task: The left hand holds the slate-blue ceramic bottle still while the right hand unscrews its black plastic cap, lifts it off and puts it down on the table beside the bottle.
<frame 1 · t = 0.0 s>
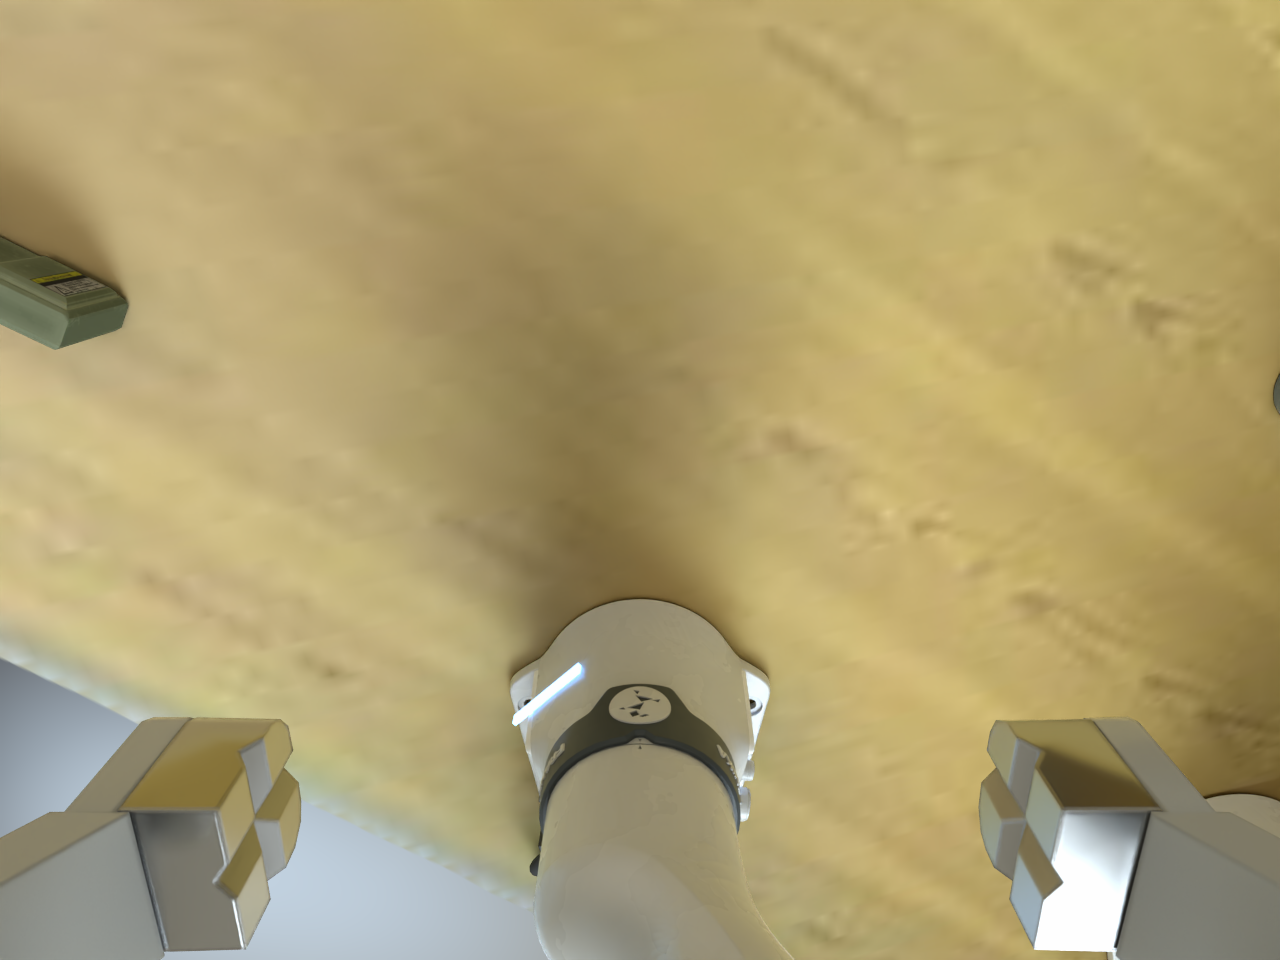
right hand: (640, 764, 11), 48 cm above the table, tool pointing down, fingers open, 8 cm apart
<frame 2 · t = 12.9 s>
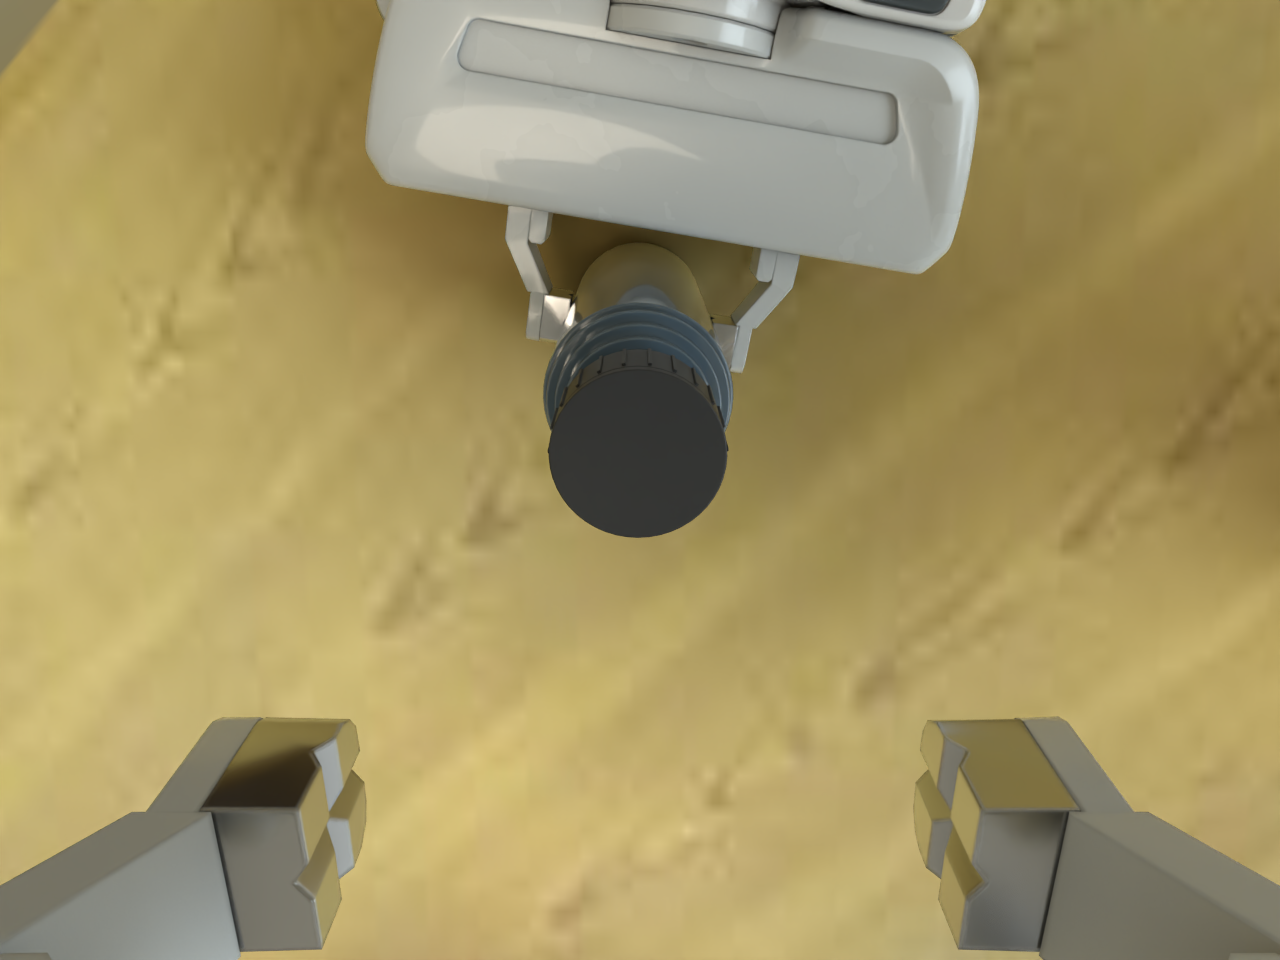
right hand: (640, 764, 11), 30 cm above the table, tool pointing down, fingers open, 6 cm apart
left hand: (635, 353, 34), fingers closed on bottle, 5 cm apart
bottle: (638, 306, 38), on the table, touching left hand
cap: (638, 452, 21), point 19 cm above the table, screwed on, not yet turned
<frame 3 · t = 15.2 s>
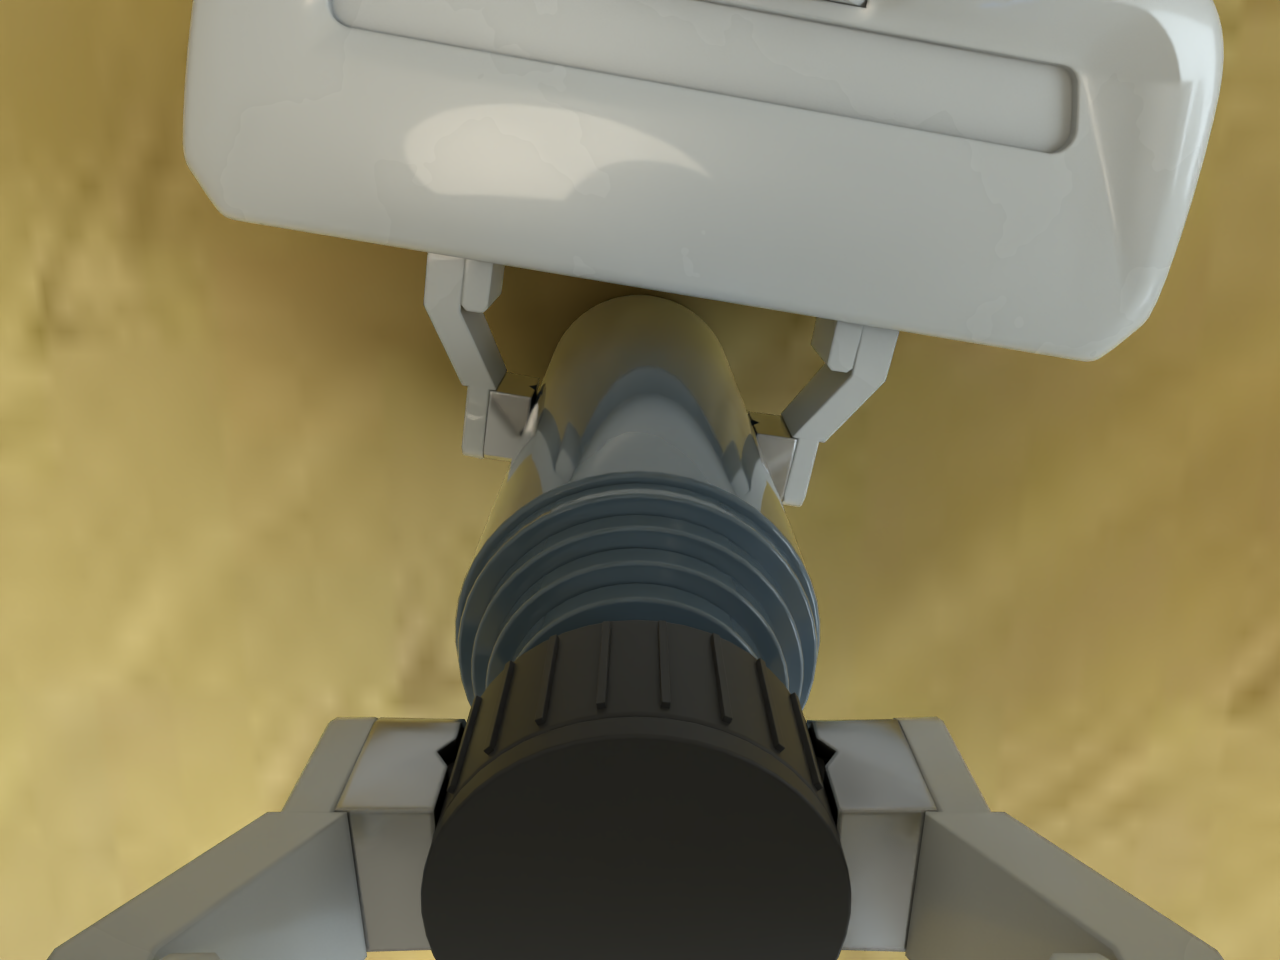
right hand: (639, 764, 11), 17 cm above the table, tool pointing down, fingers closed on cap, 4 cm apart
left hand: (634, 474, 22), fingers closed on bottle, 5 cm apart
bottle: (639, 385, 26), on the table, touching left hand
cap: (636, 890, 9), point 19 cm above the table, screwed on, not yet turned, touching right hand
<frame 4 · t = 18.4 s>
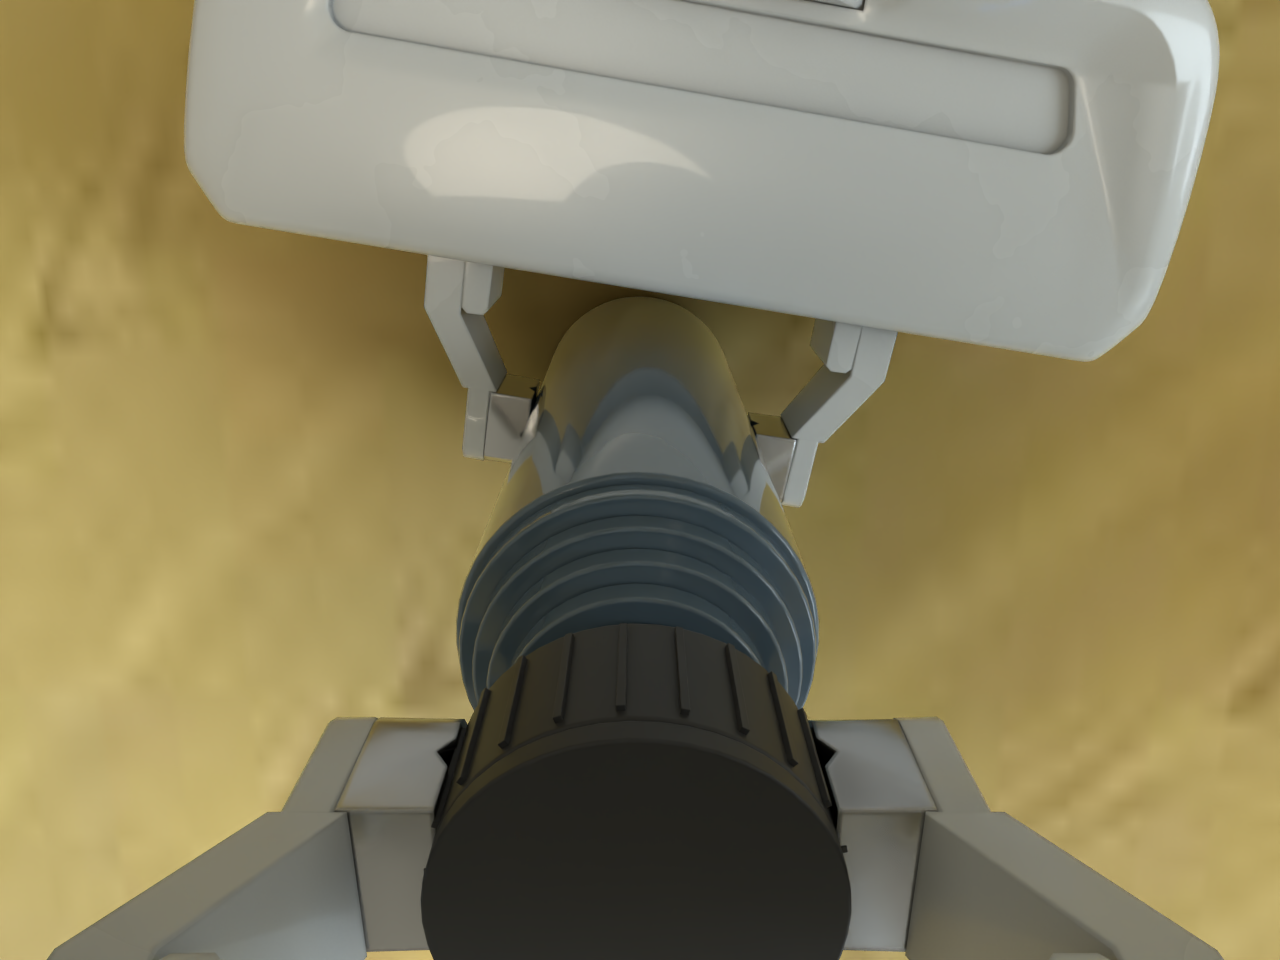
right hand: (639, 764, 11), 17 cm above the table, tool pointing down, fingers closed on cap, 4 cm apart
left hand: (634, 475, 22), fingers closed on bottle, 5 cm apart
bottle: (639, 386, 26), on the table, touching left hand
cap: (636, 894, 9), point 19 cm above the table, turned 77° so far, risen 0.1 cm, still on its thread, touching right hand
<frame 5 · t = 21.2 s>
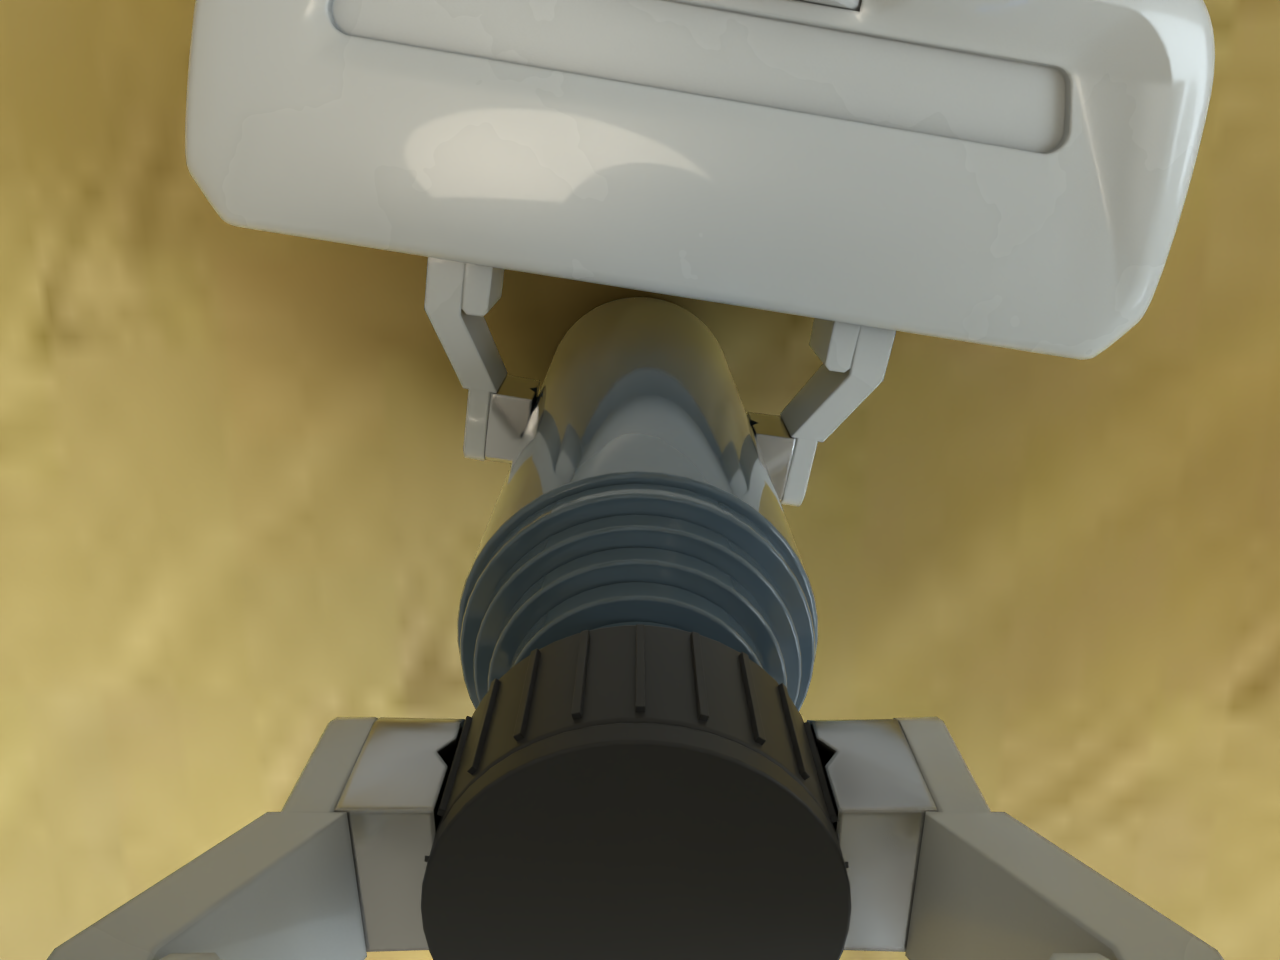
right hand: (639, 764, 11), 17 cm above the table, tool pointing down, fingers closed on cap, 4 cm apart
left hand: (635, 475, 22), fingers closed on bottle, 5 cm apart
bottle: (639, 386, 27), on the table, touching left hand
cap: (636, 895, 9), point 19 cm above the table, turned 153° so far, risen 0.2 cm, still on its thread, touching right hand
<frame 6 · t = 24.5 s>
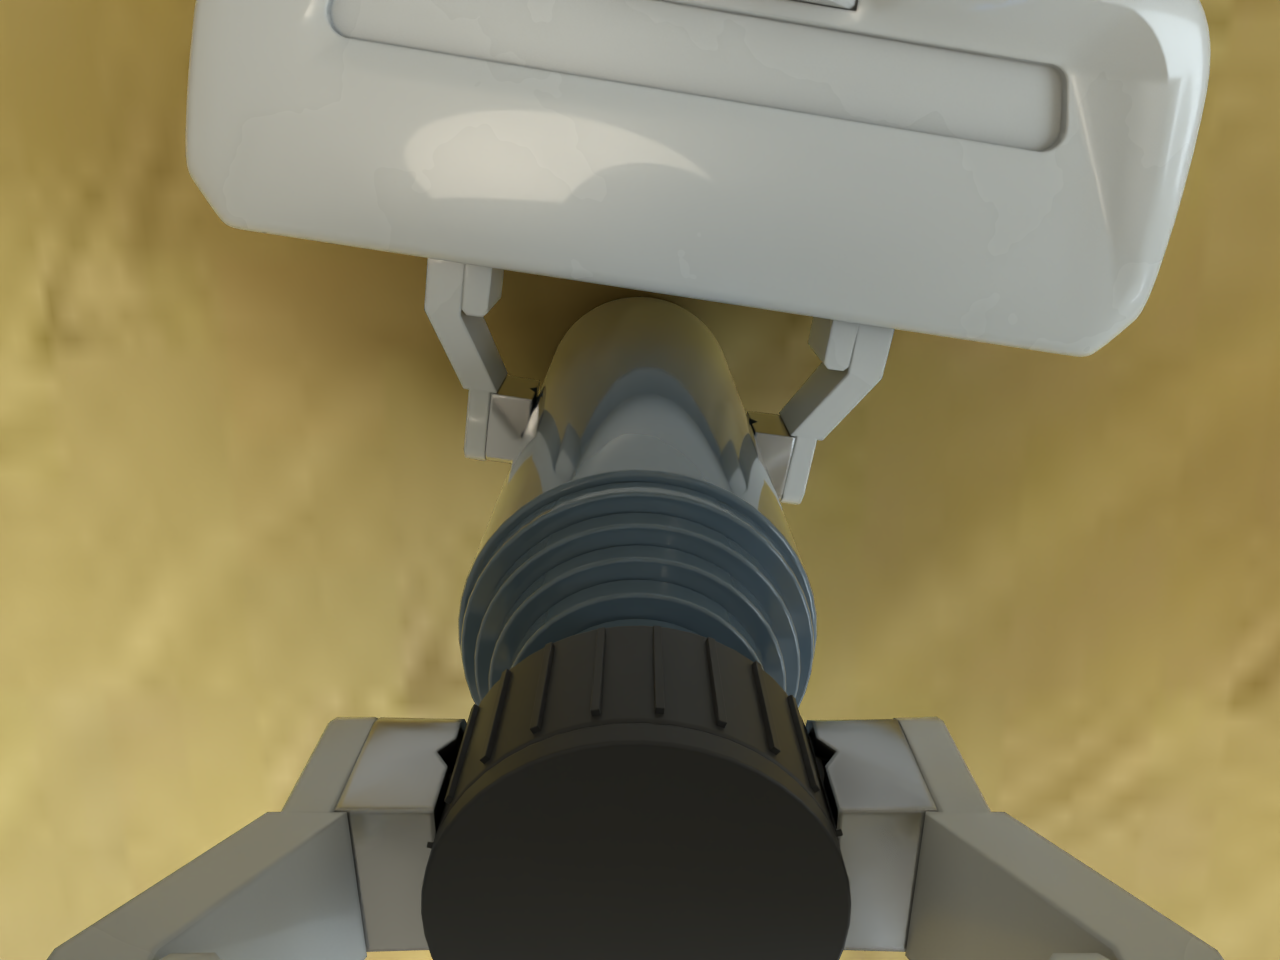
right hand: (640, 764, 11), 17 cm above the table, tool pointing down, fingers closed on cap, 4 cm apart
left hand: (635, 474, 22), fingers closed on bottle, 5 cm apart
bottle: (639, 386, 27), on the table, touching left hand
cap: (636, 896, 9), point 19 cm above the table, turned 230° so far, risen 0.2 cm, still on its thread, touching right hand
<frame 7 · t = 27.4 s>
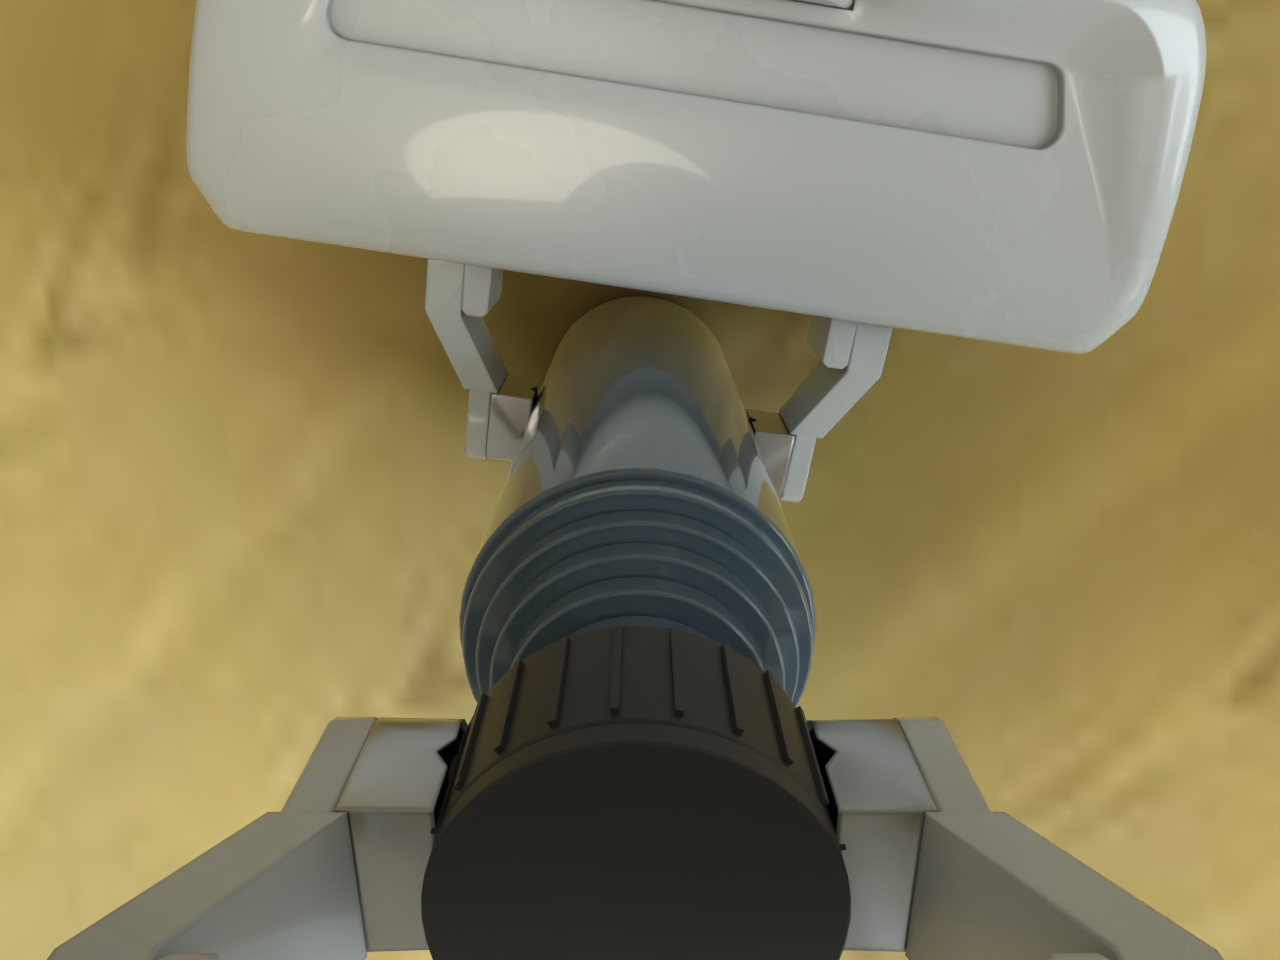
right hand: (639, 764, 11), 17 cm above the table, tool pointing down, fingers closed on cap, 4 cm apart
left hand: (635, 473, 22), fingers closed on bottle, 5 cm apart
bottle: (639, 385, 27), on the table, touching left hand
cap: (636, 896, 9), point 19 cm above the table, turned 306° so far, risen 0.3 cm, still on its thread, touching right hand
when the right hand's fingers open (2 cm above the table, at t = 37.3 s): cap drops 2 cm, point 2 cm above the table.
when the left hand's fingers open (5 cm above the table, at t = 38.5 s): bottle stays where it is, on the table.
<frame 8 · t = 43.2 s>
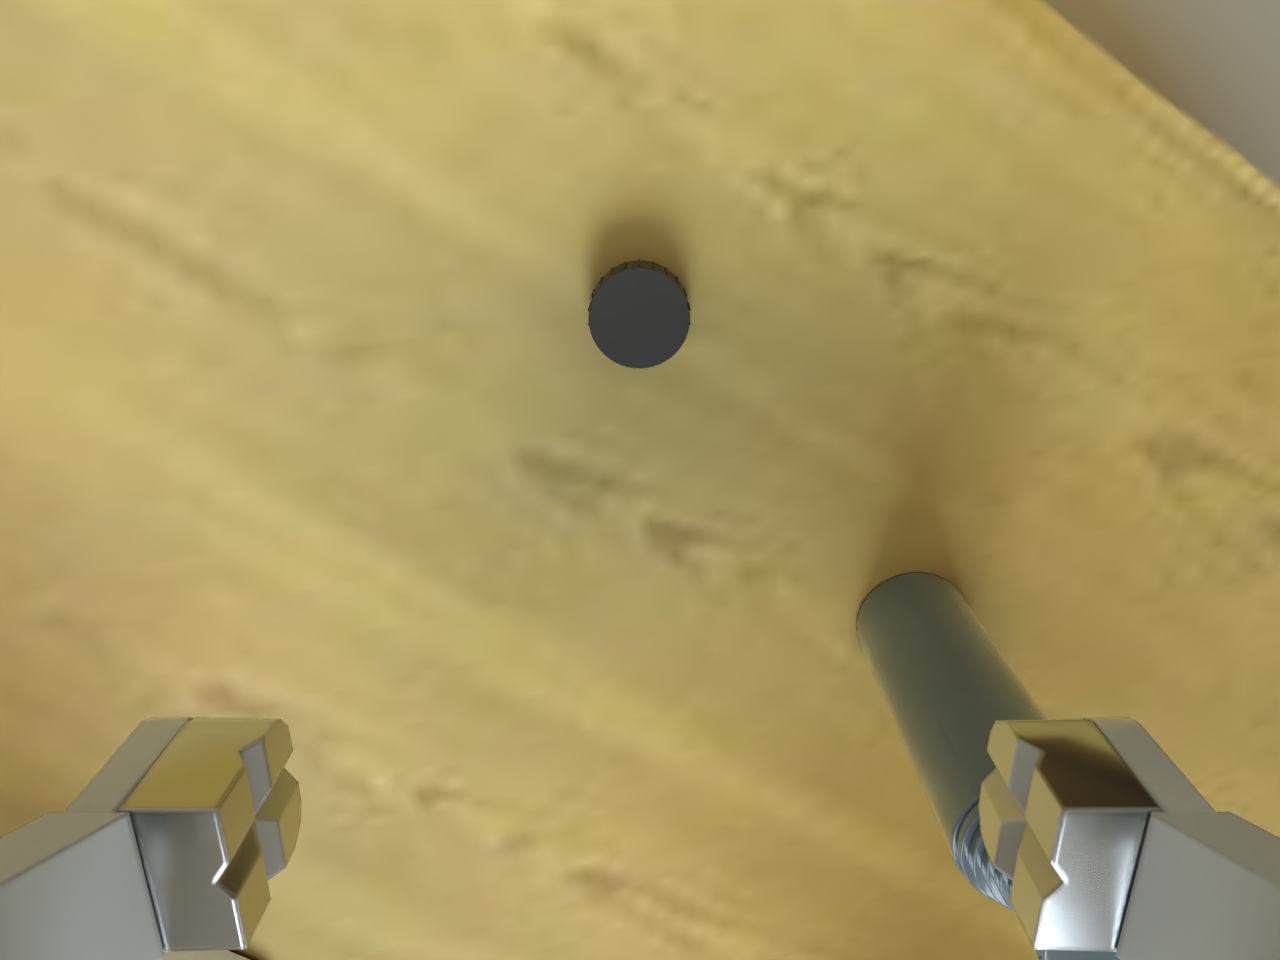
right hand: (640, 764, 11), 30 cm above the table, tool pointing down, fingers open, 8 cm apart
bottle: (911, 621, 43), on the table
cap: (639, 317, 37), point 2 cm above the table, off its thread
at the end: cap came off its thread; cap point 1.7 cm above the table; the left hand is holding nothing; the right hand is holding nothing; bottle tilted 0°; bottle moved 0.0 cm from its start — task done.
